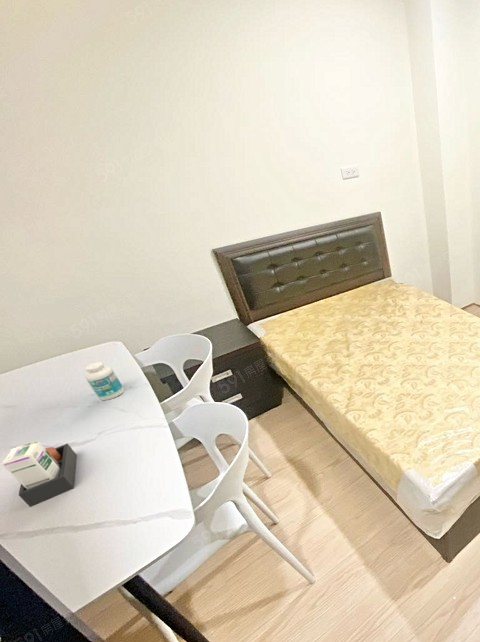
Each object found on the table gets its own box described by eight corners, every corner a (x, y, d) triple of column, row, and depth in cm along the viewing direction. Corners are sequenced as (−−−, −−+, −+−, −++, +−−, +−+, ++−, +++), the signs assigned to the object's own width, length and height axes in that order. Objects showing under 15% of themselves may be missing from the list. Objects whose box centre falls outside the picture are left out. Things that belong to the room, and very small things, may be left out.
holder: (31, 508, 108) (18, 495, 105) (38, 472, 119) (26, 458, 116) (75, 490, 113) (63, 476, 110) (78, 456, 124) (67, 443, 121)
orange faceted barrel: (42, 482, 114) (26, 465, 111) (44, 470, 118) (29, 454, 115) (68, 471, 118) (54, 454, 114) (69, 460, 121) (56, 444, 118)
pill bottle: (95, 402, 147) (74, 373, 140) (107, 390, 153) (88, 361, 147) (118, 398, 148) (99, 369, 142) (129, 387, 155) (111, 358, 148)
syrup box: (62, 490, 111) (30, 453, 104) (34, 499, 109) (-1, 462, 102) (70, 475, 116) (39, 440, 109) (43, 484, 114) (10, 448, 106)
